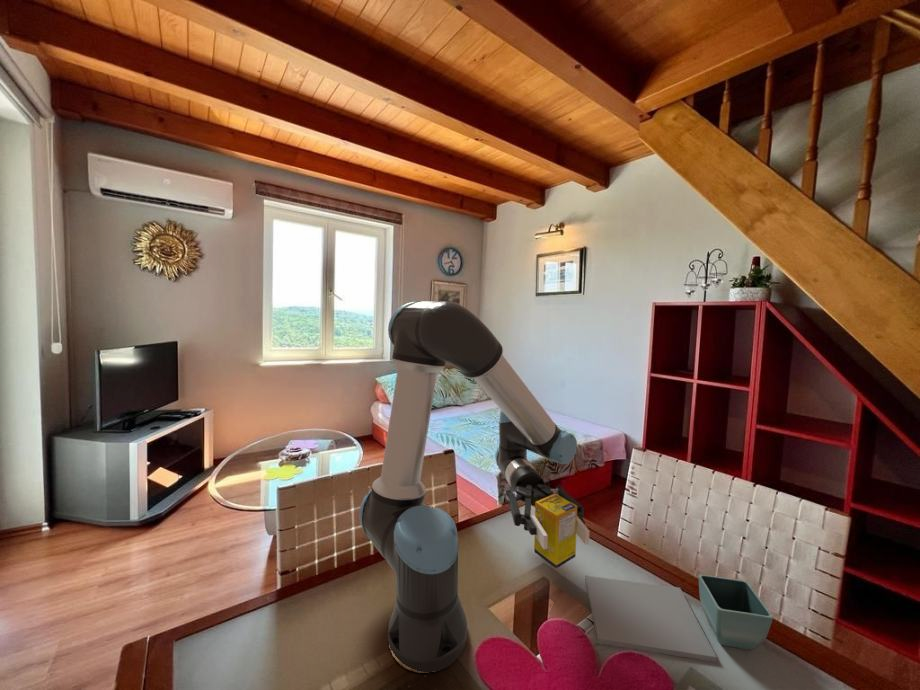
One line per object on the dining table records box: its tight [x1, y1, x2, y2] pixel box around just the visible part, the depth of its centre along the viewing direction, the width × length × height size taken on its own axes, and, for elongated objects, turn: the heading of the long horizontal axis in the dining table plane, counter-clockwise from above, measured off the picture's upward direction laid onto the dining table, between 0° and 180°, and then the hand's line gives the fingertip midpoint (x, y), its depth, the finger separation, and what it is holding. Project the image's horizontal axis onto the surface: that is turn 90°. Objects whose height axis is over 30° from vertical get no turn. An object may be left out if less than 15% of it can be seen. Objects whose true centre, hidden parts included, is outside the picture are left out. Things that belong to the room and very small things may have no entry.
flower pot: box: [698, 574, 774, 650], centre depth 69 cm, size 9×9×9 cm
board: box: [584, 575, 717, 663], centre depth 74 cm, size 20×16×1 cm
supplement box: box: [533, 494, 577, 569], centre depth 72 cm, size 6×6×11 cm
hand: (566, 539), depth 68 cm, fingers closed on supplement box, 8 cm apart
